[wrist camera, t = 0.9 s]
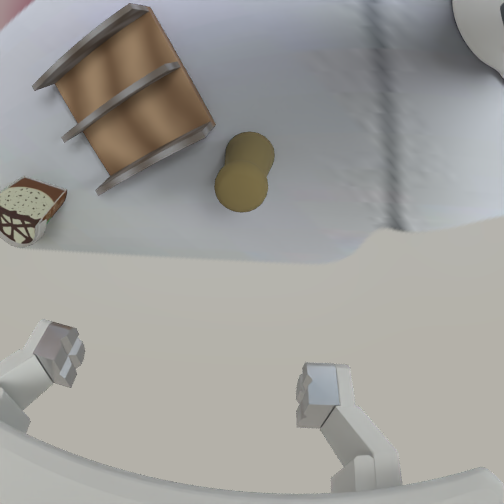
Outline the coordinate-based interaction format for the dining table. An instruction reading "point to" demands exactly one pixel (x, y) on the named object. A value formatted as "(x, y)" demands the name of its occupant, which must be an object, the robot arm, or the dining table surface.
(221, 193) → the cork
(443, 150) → the dining table surface
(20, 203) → the food container
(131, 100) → the slot rack
